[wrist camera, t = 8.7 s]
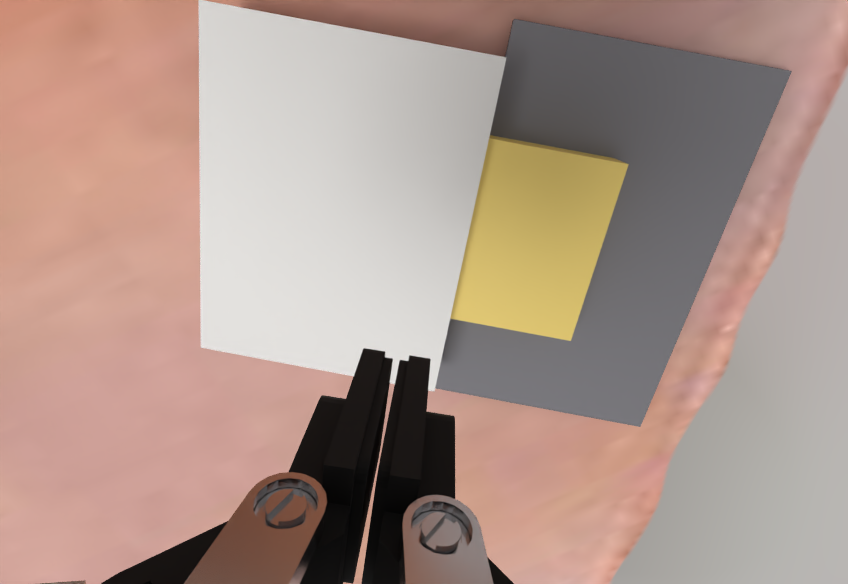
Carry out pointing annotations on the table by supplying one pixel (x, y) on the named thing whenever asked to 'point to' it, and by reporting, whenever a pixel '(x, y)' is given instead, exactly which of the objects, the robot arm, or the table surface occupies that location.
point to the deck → (334, 187)
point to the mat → (621, 209)
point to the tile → (535, 236)
